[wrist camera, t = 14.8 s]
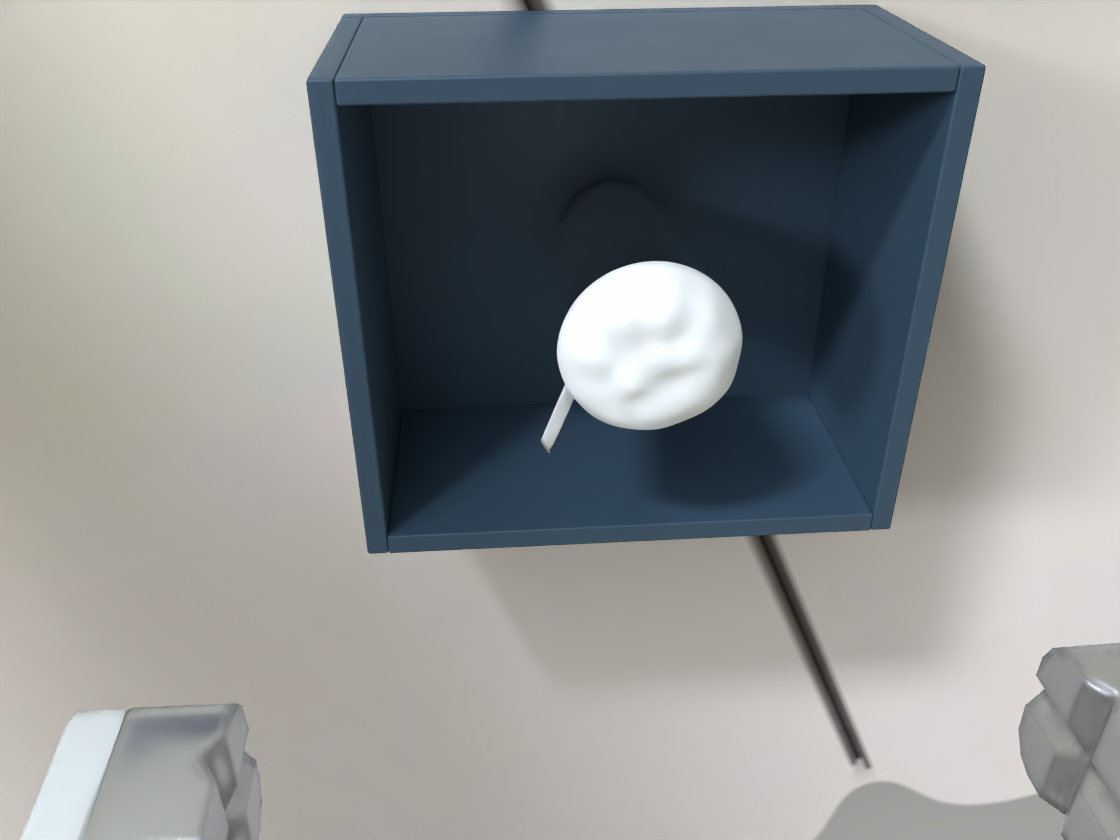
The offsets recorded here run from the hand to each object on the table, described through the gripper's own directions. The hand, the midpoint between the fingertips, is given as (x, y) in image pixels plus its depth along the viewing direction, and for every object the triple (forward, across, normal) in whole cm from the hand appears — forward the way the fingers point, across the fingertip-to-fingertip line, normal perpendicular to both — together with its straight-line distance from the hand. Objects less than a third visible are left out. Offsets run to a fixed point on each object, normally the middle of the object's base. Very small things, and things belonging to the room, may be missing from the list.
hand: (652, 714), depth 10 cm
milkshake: (+23, -2, +4) cm, 23 cm away
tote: (+23, -3, +4) cm, 24 cm away
